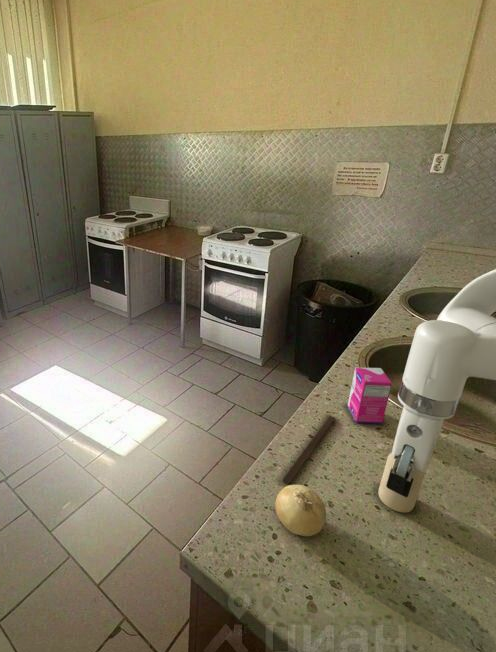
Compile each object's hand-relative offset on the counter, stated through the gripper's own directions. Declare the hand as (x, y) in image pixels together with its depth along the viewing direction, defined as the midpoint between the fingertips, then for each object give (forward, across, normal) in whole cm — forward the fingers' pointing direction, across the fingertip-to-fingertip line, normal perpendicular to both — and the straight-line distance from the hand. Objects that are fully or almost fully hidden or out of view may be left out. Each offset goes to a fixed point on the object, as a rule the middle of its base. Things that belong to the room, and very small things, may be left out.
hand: (401, 479), depth 69 cm
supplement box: (+5, +20, +11) cm, 23 cm away
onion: (+5, -16, +11) cm, 20 cm away
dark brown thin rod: (+5, +2, +16) cm, 17 cm away
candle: (+5, 0, 0) cm, 5 cm away
